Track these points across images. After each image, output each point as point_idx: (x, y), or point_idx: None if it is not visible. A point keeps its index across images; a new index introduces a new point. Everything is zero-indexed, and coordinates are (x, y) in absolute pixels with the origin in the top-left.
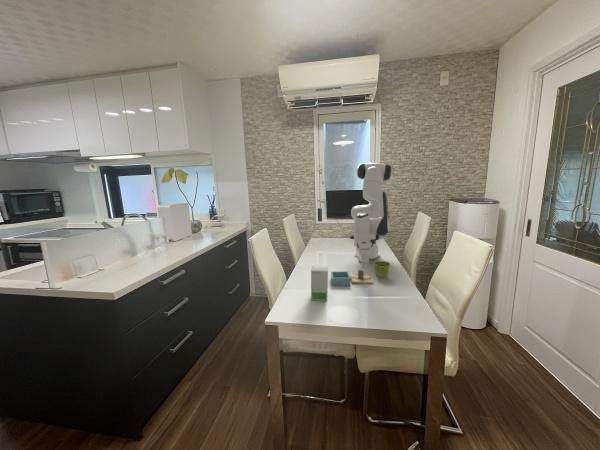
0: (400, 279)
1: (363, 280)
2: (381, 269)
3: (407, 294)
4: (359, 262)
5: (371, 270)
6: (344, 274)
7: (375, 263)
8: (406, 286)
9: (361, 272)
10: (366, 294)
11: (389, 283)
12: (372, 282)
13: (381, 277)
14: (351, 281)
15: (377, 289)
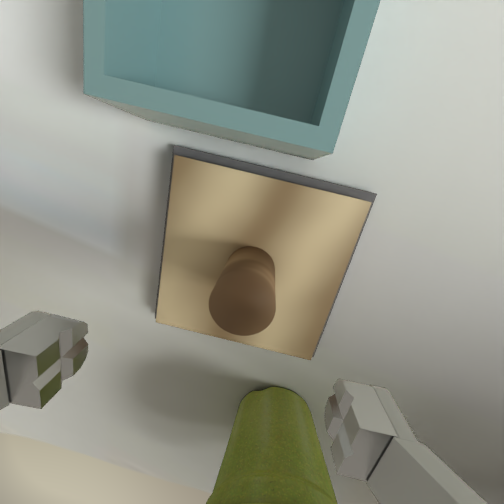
0: (217, 476)
1: (196, 270)
2: (216, 486)
3: (29, 410)
4: (346, 401)
5: (424, 417)
6: (322, 96)
7: None
8: (124, 453)
9: (210, 297)
10: (7, 199)
11: (172, 406)
12: (157, 319)
13: (238, 411)
14: (234, 166)
15: (89, 305)
